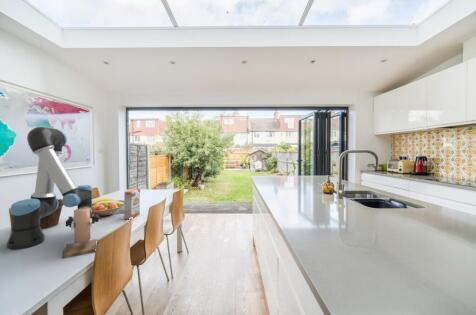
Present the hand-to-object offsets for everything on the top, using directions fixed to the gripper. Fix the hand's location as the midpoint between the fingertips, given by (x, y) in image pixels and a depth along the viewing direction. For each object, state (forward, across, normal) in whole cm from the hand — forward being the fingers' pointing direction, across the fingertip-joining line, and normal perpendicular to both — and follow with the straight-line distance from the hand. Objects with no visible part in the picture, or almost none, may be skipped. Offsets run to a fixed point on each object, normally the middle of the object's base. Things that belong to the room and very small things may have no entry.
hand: (81, 225), depth 113 cm
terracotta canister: (-5, 0, -9) cm, 10 cm away
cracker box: (-52, -29, -14) cm, 62 cm away
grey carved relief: (-71, -24, -15) cm, 77 cm away
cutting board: (-5, +1, -14) cm, 15 cm away
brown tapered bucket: (-58, +23, -14) cm, 64 cm away
